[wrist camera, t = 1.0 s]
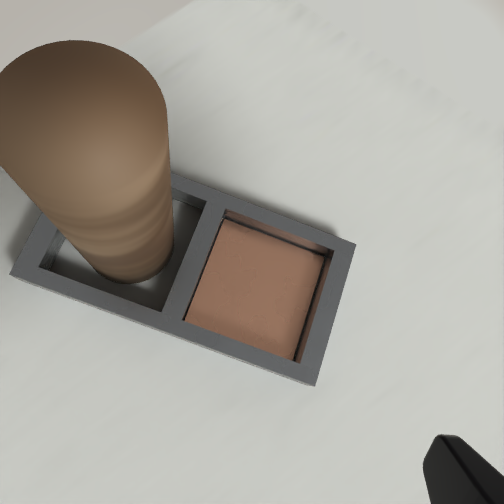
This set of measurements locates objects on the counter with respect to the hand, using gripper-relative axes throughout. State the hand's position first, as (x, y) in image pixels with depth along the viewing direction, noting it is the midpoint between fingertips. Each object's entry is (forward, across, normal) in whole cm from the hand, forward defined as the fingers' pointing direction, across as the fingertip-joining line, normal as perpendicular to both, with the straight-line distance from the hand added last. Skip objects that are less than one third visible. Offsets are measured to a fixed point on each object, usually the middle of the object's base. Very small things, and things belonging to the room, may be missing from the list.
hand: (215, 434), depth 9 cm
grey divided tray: (+14, +1, +4) cm, 15 cm away
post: (+15, +4, +4) cm, 16 cm away
